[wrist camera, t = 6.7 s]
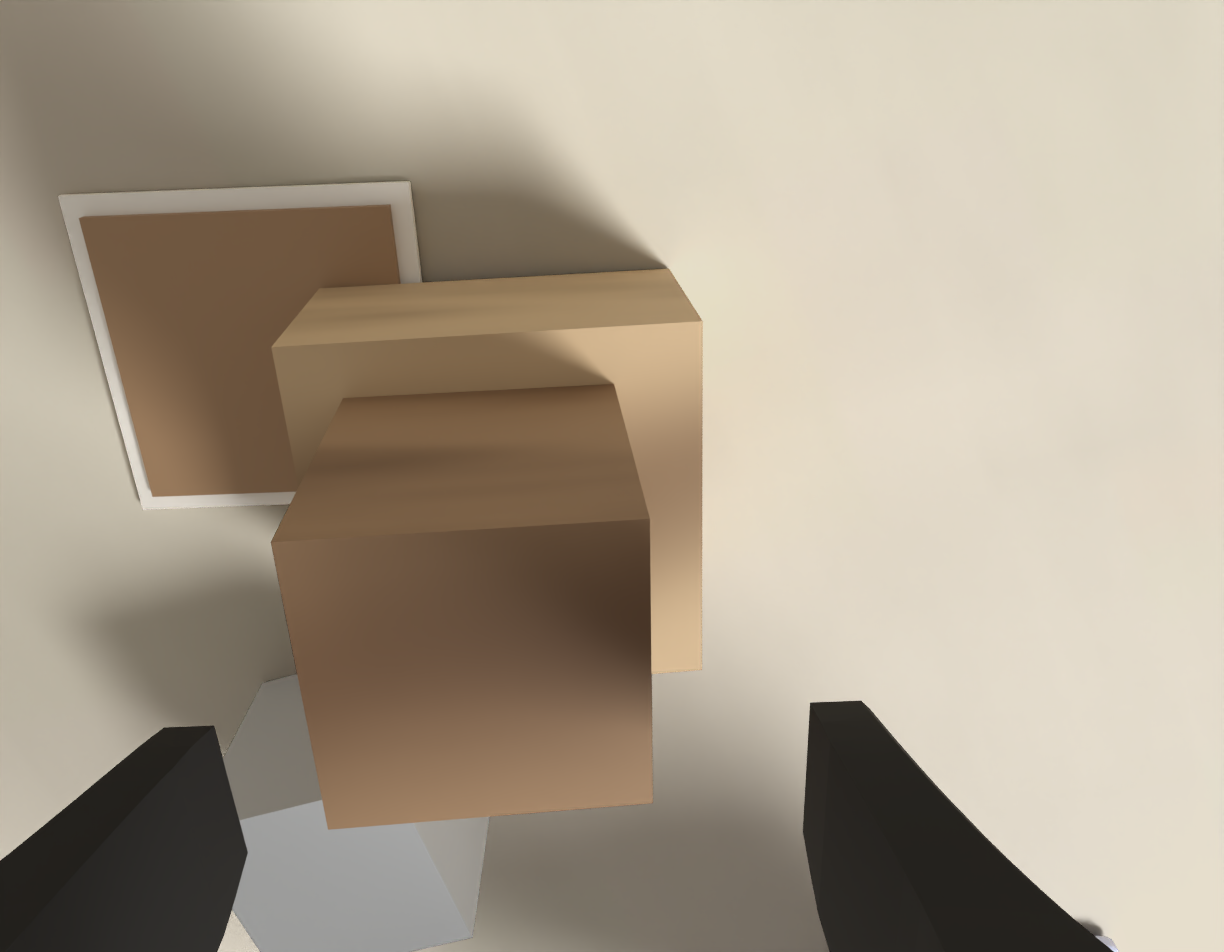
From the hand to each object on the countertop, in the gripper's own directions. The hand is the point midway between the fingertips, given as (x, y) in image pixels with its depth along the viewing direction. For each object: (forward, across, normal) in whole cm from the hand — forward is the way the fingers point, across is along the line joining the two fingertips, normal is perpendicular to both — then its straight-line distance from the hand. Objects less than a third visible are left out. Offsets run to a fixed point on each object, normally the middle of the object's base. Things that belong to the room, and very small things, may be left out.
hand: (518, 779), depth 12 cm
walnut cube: (+6, +1, -1) cm, 6 cm away
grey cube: (+10, +5, +8) cm, 14 cm away
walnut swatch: (+10, +6, -2) cm, 12 cm away
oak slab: (+10, +1, 0) cm, 10 cm away
